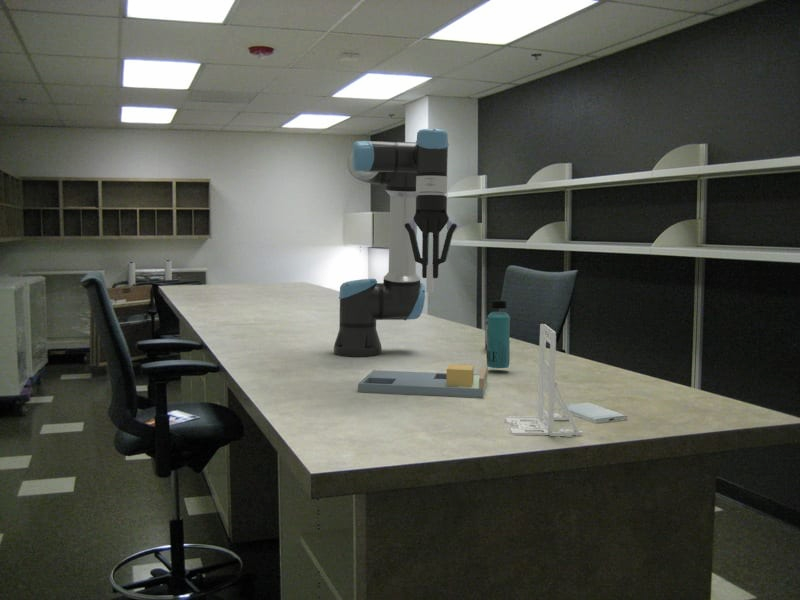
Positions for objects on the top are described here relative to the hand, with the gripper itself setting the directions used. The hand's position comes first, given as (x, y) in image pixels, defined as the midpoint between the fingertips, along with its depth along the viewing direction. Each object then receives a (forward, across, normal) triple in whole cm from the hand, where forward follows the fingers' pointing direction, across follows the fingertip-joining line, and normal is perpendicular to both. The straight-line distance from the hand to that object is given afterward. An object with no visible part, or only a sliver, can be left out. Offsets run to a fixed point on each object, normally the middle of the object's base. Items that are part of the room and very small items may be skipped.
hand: (430, 291), depth 183 cm
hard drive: (+25, +38, -20) cm, 49 cm away
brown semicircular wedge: (+25, +14, +61) cm, 67 cm away
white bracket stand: (+24, +27, -32) cm, 48 cm away
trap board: (+24, -1, +1) cm, 24 cm away
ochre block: (+22, +8, -3) cm, 24 cm away
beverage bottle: (+24, +16, +26) cm, 39 cm away
